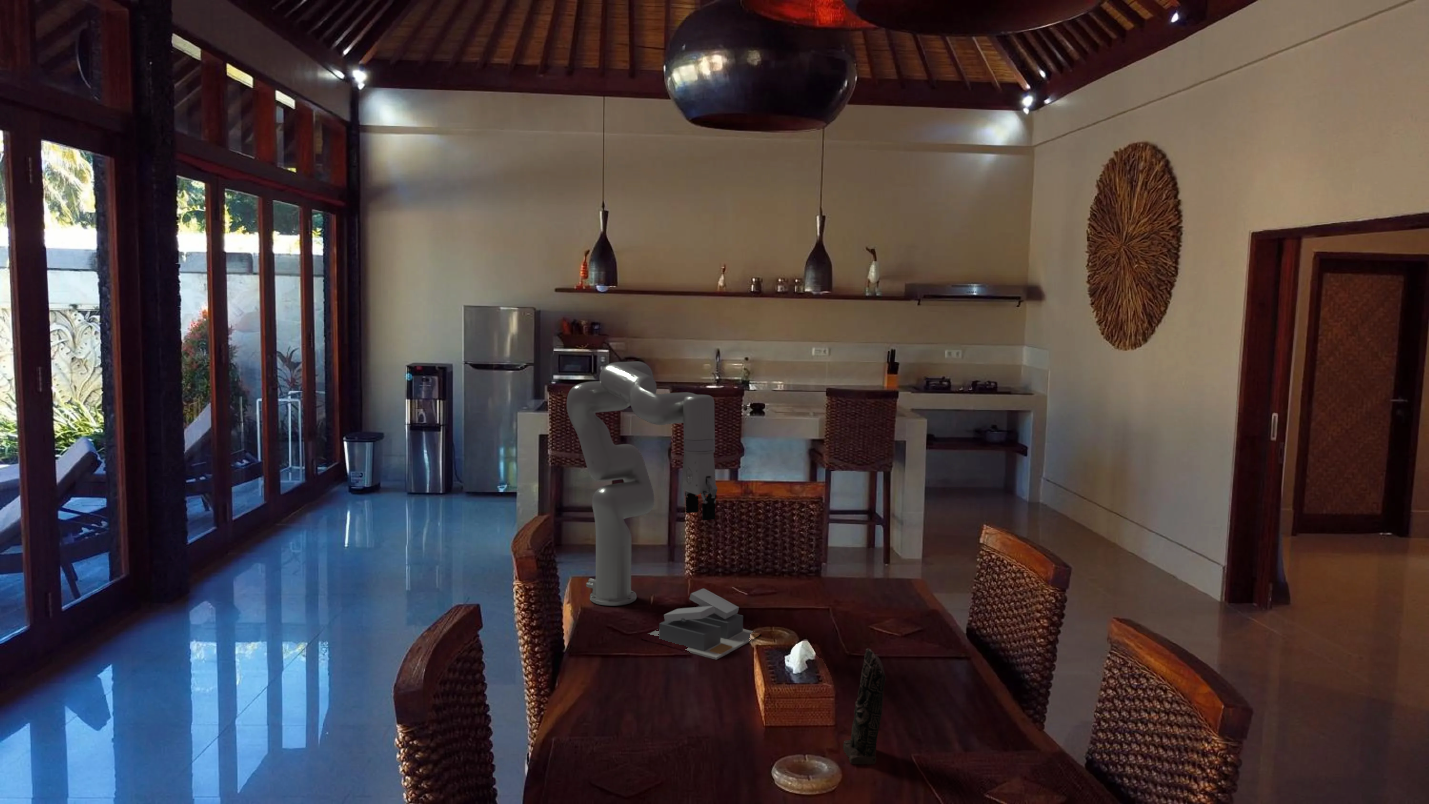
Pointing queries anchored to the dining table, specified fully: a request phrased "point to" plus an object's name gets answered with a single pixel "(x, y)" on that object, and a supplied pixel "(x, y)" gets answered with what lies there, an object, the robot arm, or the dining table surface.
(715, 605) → the switch
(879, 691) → the statue
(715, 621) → the switch board
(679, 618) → the switch
